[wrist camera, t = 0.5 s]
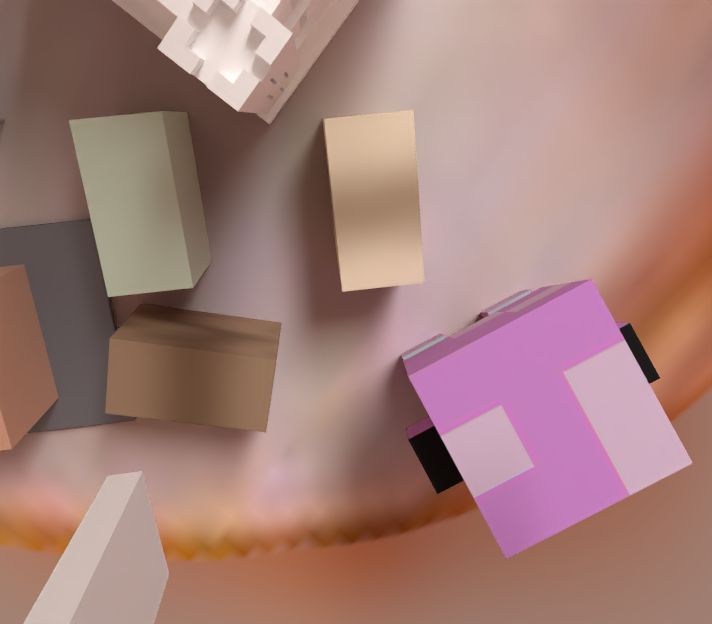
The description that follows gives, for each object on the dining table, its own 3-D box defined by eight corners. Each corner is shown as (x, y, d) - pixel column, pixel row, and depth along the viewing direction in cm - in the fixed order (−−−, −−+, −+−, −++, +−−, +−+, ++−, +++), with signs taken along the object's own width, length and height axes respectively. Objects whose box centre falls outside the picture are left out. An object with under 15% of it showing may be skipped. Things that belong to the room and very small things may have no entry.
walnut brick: (137, 367, 37) (105, 413, 31) (141, 303, 36) (109, 338, 30) (272, 384, 38) (265, 432, 32) (281, 322, 37) (276, 359, 31)
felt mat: (-133, 242, 34) (-138, 244, 33) (92, 218, 34) (89, 220, 34) (-67, 440, 37) (-71, 444, 37) (136, 417, 38) (134, 420, 38)
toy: (442, 475, 39) (475, 574, 24) (381, 362, 40) (378, 392, 25) (594, 395, 39) (724, 447, 24) (532, 282, 39) (622, 262, 24)
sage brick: (110, 119, 33) (68, 120, 27) (187, 112, 33) (161, 111, 27) (140, 267, 35) (108, 297, 30) (212, 260, 36) (193, 287, 30)
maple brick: (322, 118, 34) (323, 118, 28) (396, 111, 34) (413, 109, 28) (337, 264, 36) (342, 291, 30) (406, 256, 36) (424, 282, 30)
